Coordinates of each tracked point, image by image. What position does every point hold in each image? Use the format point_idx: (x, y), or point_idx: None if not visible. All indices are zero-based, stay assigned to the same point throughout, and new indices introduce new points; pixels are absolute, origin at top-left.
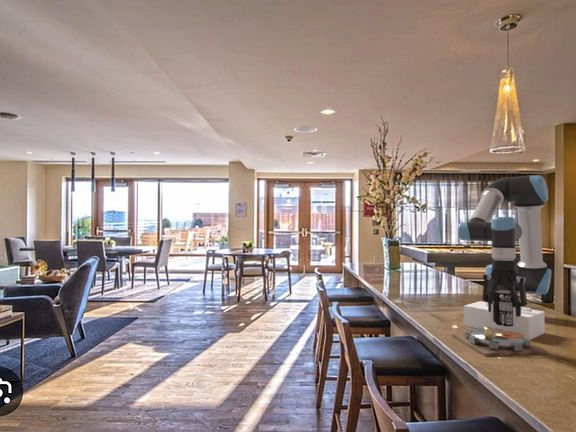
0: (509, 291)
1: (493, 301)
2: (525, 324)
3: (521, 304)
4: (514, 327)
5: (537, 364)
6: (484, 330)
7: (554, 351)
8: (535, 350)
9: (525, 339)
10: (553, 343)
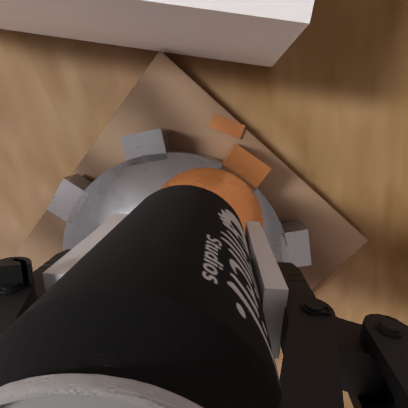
0: (168, 395)
1: (32, 287)
2: (267, 40)
3: (354, 397)
4: (196, 42)
5: None
6: (101, 221)
7: (383, 183)
8: (324, 267)
9: (291, 248)
10: (378, 43)
